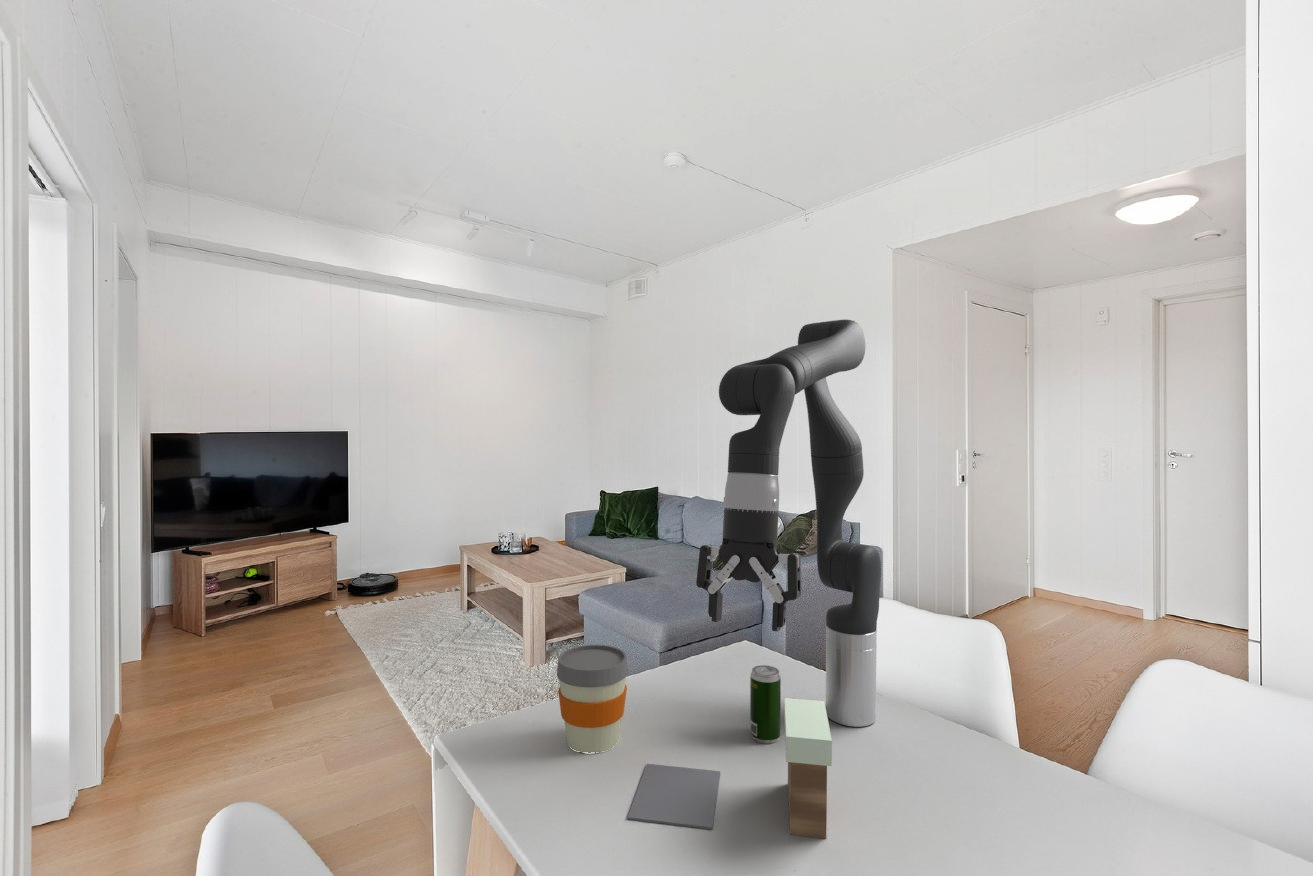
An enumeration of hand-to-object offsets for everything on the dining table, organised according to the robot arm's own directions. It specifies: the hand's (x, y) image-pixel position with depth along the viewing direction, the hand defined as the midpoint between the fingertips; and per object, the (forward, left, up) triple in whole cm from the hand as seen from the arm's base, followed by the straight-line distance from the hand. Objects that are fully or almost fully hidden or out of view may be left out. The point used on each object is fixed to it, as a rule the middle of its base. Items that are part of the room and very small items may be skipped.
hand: (745, 625), depth 85 cm
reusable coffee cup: (-19, -27, -29) cm, 44 cm away
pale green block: (-6, +9, -19) cm, 21 cm away
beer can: (-26, +3, -29) cm, 39 cm away
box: (-6, +9, -29) cm, 30 cm away
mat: (-6, -10, -29) cm, 31 cm away
